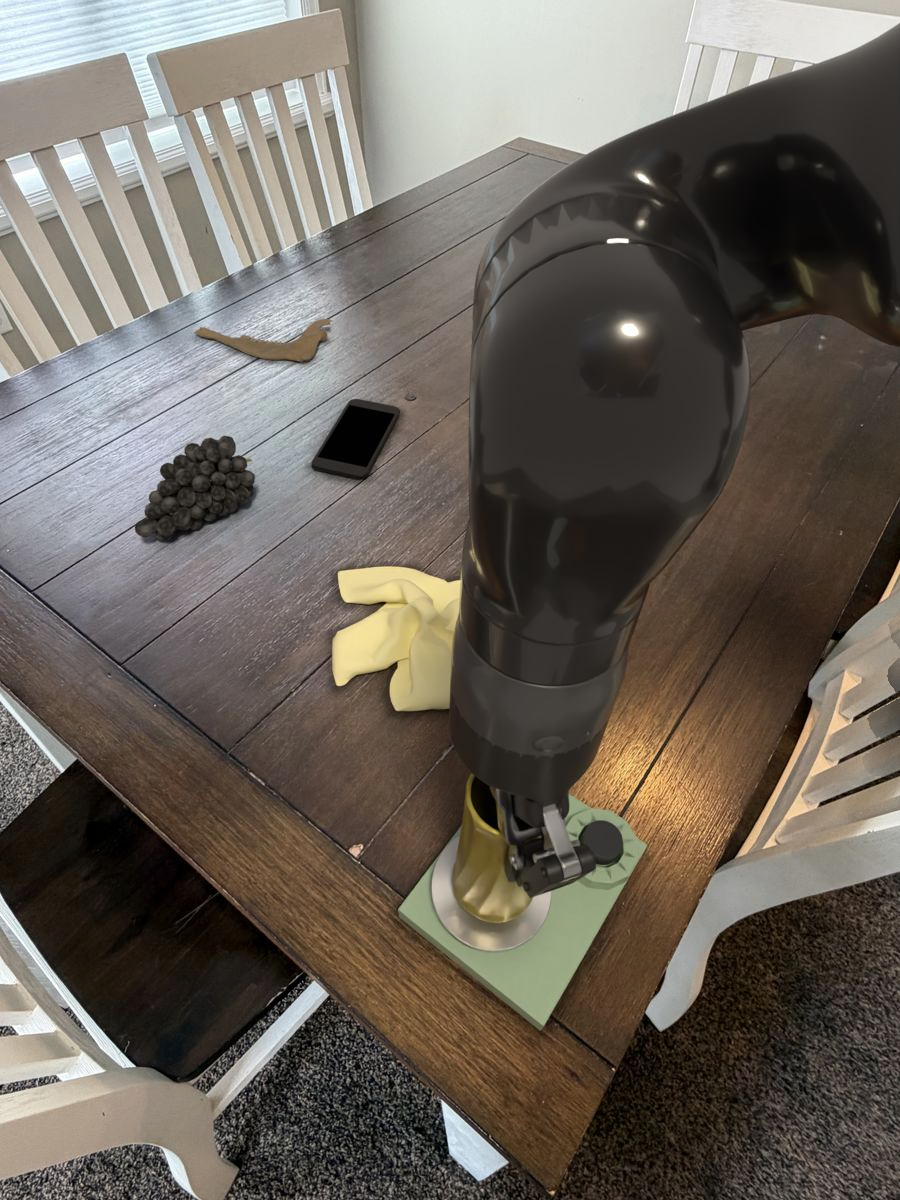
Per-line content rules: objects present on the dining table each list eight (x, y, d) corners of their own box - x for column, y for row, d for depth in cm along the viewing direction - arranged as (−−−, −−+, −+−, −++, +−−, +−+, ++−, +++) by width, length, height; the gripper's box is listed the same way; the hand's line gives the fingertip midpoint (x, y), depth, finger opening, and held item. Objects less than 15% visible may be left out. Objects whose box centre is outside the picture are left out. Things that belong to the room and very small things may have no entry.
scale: (511, 766, 65) (515, 747, 62) (642, 853, 60) (652, 836, 58) (398, 916, 57) (396, 902, 54) (540, 1031, 52) (546, 1021, 49)
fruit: (127, 498, 73) (248, 429, 80) (95, 482, 78) (211, 418, 85) (167, 567, 78) (277, 496, 85) (134, 547, 84) (241, 482, 91)
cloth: (549, 607, 77) (557, 568, 72) (476, 748, 66) (479, 713, 61) (366, 538, 83) (362, 498, 78) (271, 657, 72) (260, 619, 67)
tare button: (592, 820, 59) (596, 812, 58) (625, 842, 58) (629, 834, 57) (573, 850, 57) (576, 842, 56) (607, 873, 56) (611, 865, 55)
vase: (458, 833, 55) (464, 740, 44) (538, 844, 55) (565, 754, 44) (446, 916, 51) (451, 837, 40) (533, 929, 51) (561, 853, 40)
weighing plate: (476, 809, 59) (476, 805, 58) (573, 876, 56) (574, 873, 55) (406, 901, 54) (406, 898, 54) (507, 981, 51) (508, 979, 50)
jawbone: (333, 366, 106) (331, 354, 104) (189, 373, 104) (185, 360, 103) (333, 328, 111) (331, 316, 109) (196, 334, 110) (192, 322, 108)
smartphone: (403, 411, 98) (402, 405, 98) (365, 481, 89) (365, 476, 88) (351, 401, 99) (350, 396, 99) (308, 470, 90) (308, 465, 89)
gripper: (688, 794, 29) (609, 921, 42) (546, 549, 38) (517, 717, 51) (515, 852, 28) (488, 965, 41) (408, 582, 36) (414, 746, 49)
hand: (504, 826), depth 46 cm, fingers closed on vase, 5 cm apart
